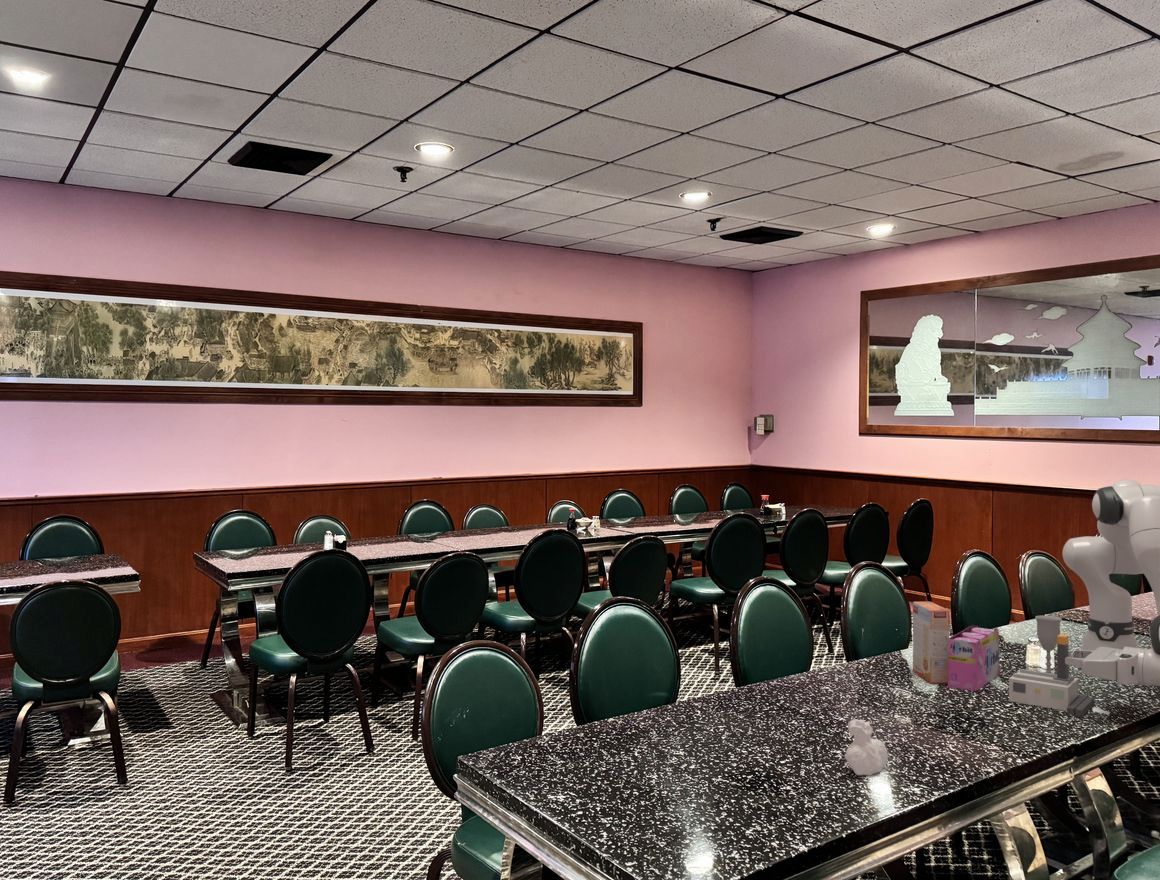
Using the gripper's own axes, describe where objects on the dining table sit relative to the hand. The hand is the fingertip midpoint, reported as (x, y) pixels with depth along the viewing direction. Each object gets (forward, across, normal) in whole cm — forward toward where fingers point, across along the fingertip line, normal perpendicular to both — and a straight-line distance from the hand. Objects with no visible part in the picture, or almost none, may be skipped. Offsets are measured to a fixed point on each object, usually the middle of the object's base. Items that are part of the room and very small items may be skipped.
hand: (1070, 656), depth 236 cm
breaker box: (+6, 0, +13) cm, 14 cm away
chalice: (+10, -22, +13) cm, 28 cm away
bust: (+22, +77, +13) cm, 81 cm away
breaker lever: (+2, 0, +7) cm, 7 cm away
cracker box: (+37, -5, +13) cm, 40 cm away
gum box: (+27, -10, +13) cm, 31 cm away
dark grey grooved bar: (-3, 0, +13) cm, 13 cm away
